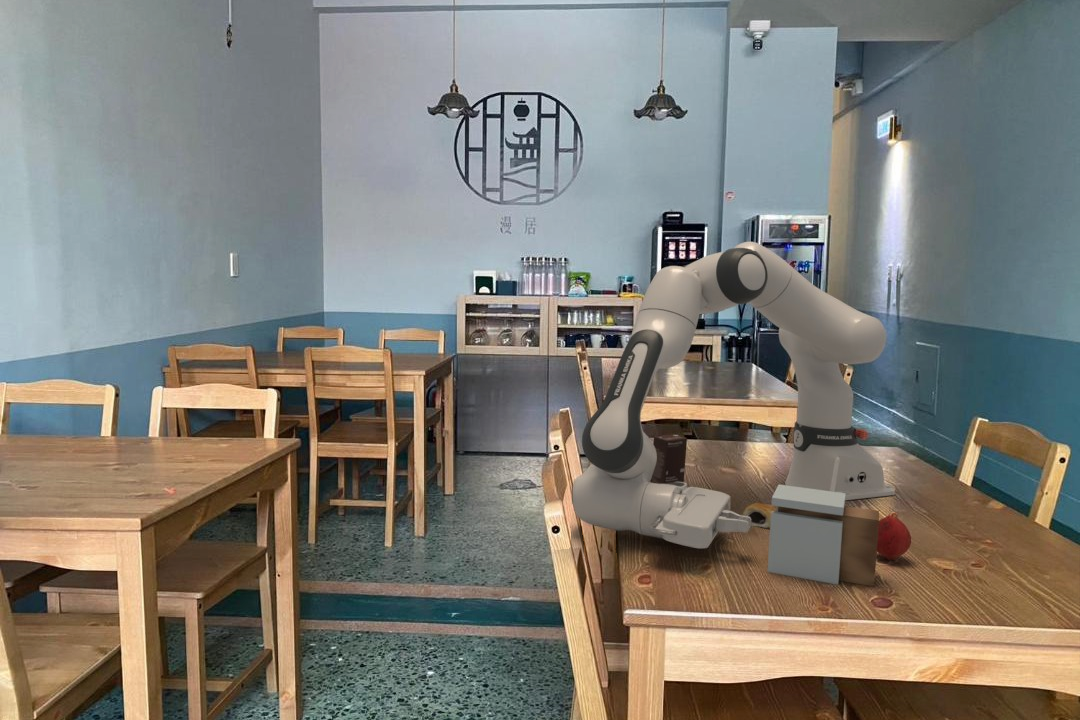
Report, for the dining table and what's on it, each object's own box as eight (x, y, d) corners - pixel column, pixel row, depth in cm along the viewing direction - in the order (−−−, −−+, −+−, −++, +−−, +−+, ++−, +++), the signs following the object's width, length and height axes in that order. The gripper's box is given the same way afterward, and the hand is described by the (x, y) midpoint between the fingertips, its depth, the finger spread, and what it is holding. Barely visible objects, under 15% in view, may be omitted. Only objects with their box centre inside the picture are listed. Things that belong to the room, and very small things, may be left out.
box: (664, 497, 148) (666, 440, 147) (649, 492, 152) (651, 435, 150) (685, 493, 151) (688, 437, 150) (670, 488, 155) (672, 433, 154)
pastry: (756, 512, 140) (757, 493, 140) (791, 520, 136) (792, 500, 136) (738, 524, 132) (739, 504, 132) (774, 533, 128) (775, 512, 128)
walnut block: (774, 568, 111) (778, 505, 110) (778, 557, 115) (782, 497, 114) (874, 586, 105) (879, 520, 104) (874, 574, 110) (878, 510, 109)
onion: (890, 569, 112) (894, 519, 112) (861, 556, 118) (864, 508, 117) (917, 564, 115) (921, 515, 114) (886, 551, 120) (890, 505, 119)
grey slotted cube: (767, 572, 110) (771, 497, 109) (774, 555, 117) (778, 484, 116) (838, 585, 106) (843, 507, 104) (840, 566, 113) (845, 493, 112)
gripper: (647, 509, 110) (740, 524, 104) (680, 479, 129) (759, 490, 123) (646, 549, 111) (737, 566, 105) (678, 513, 129) (757, 525, 124)
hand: (749, 525), depth 114 cm, fingers closed
